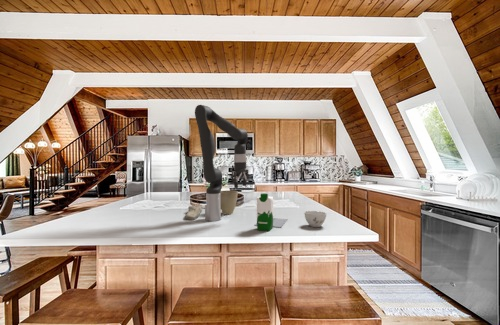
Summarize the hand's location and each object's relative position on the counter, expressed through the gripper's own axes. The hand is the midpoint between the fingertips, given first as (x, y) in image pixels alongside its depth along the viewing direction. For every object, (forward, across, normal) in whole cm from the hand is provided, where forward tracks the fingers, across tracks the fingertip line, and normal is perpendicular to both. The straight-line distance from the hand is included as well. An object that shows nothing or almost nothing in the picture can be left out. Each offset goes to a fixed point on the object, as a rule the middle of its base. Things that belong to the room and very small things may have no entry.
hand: (240, 186), depth 164 cm
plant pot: (+24, -14, -23) cm, 36 cm away
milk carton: (+20, +7, +23) cm, 32 cm away
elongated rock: (+24, +4, -39) cm, 46 cm away
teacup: (+22, -17, +42) cm, 51 cm away
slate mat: (+22, -8, +18) cm, 29 cm away
